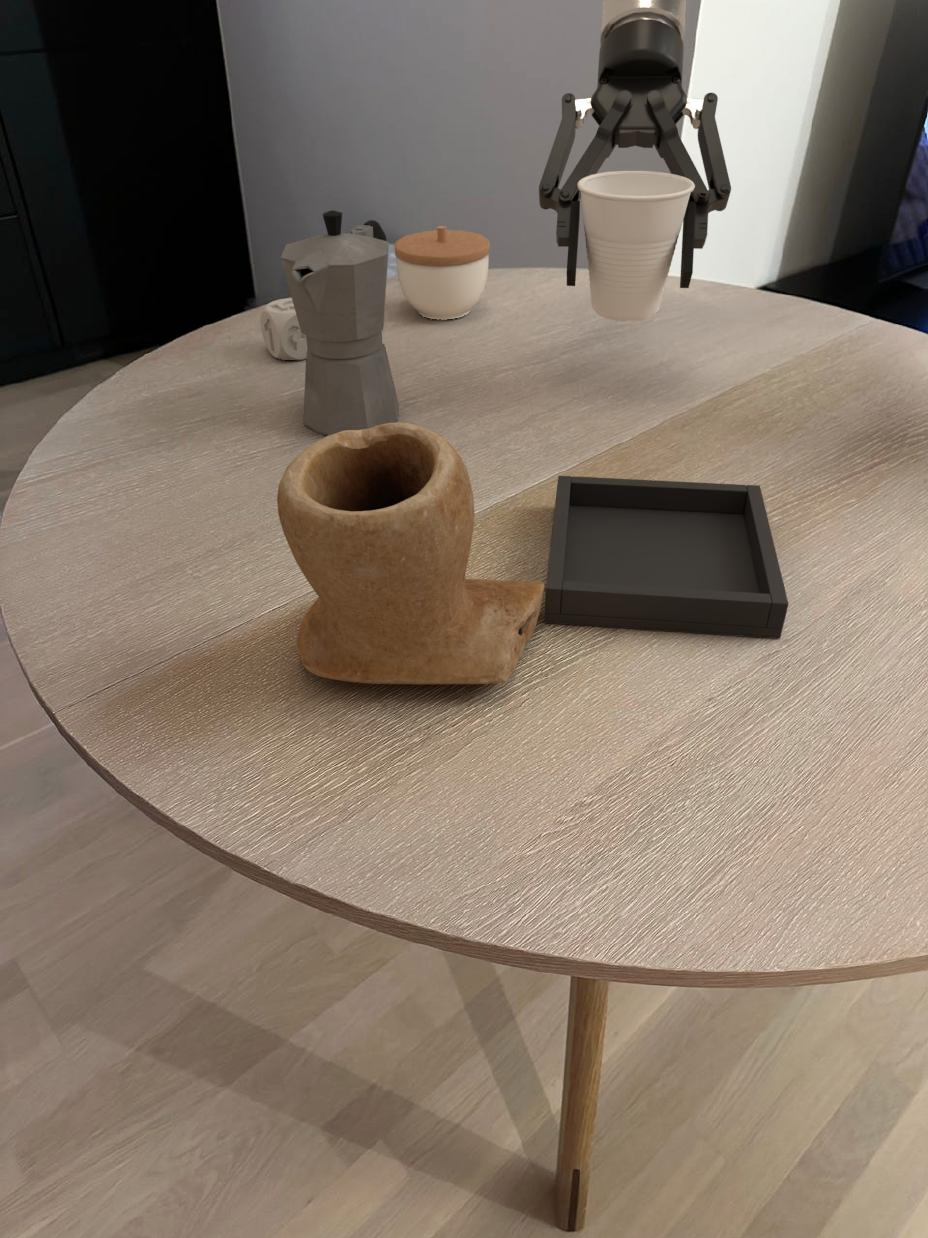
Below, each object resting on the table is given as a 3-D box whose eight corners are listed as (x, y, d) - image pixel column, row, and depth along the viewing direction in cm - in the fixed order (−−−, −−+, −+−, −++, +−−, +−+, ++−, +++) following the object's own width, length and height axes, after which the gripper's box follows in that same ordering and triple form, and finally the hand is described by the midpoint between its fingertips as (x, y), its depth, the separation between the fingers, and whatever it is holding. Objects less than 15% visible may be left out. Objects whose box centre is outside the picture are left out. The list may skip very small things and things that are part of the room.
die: (264, 350, 100) (257, 303, 97) (306, 340, 102) (300, 294, 99) (283, 364, 96) (276, 317, 93) (326, 354, 99) (321, 307, 96)
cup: (557, 322, 84) (563, 191, 77) (587, 289, 91) (594, 166, 84) (667, 335, 81) (682, 200, 74) (688, 299, 88) (704, 173, 81)
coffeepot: (367, 455, 80) (347, 237, 69) (271, 439, 83) (238, 227, 72) (434, 386, 91) (427, 190, 80) (349, 374, 94) (330, 182, 83)
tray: (753, 517, 71) (760, 485, 69) (780, 639, 59) (788, 603, 57) (556, 506, 73) (558, 475, 71) (544, 623, 61) (545, 588, 59)
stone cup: (275, 715, 54) (231, 489, 45) (322, 596, 63) (294, 389, 54) (535, 733, 53) (544, 503, 43) (544, 608, 62) (553, 397, 53)
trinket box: (379, 316, 108) (373, 231, 102) (434, 290, 115) (431, 210, 109) (455, 334, 103) (453, 245, 97) (507, 306, 110) (508, 222, 104)
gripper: (757, 74, 86) (748, 302, 83) (522, 76, 89) (505, 297, 86) (775, 11, 79) (766, 258, 76) (518, 15, 82) (500, 254, 79)
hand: (628, 279), depth 81 cm, fingers closed on cup, 9 cm apart
